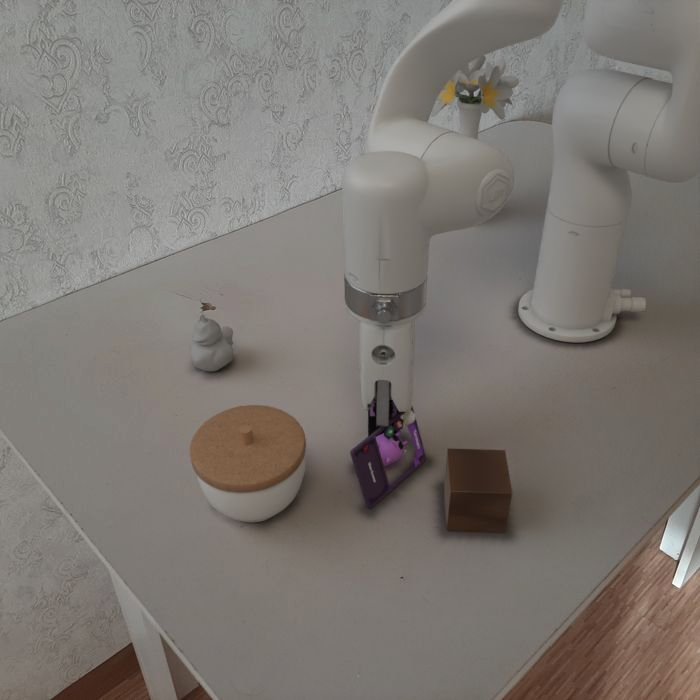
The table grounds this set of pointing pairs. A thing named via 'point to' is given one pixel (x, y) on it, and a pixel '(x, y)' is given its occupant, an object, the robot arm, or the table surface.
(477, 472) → the walnut block
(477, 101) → the flower vase
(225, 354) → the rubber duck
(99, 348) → the table surface
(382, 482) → the game card
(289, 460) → the trinket box
